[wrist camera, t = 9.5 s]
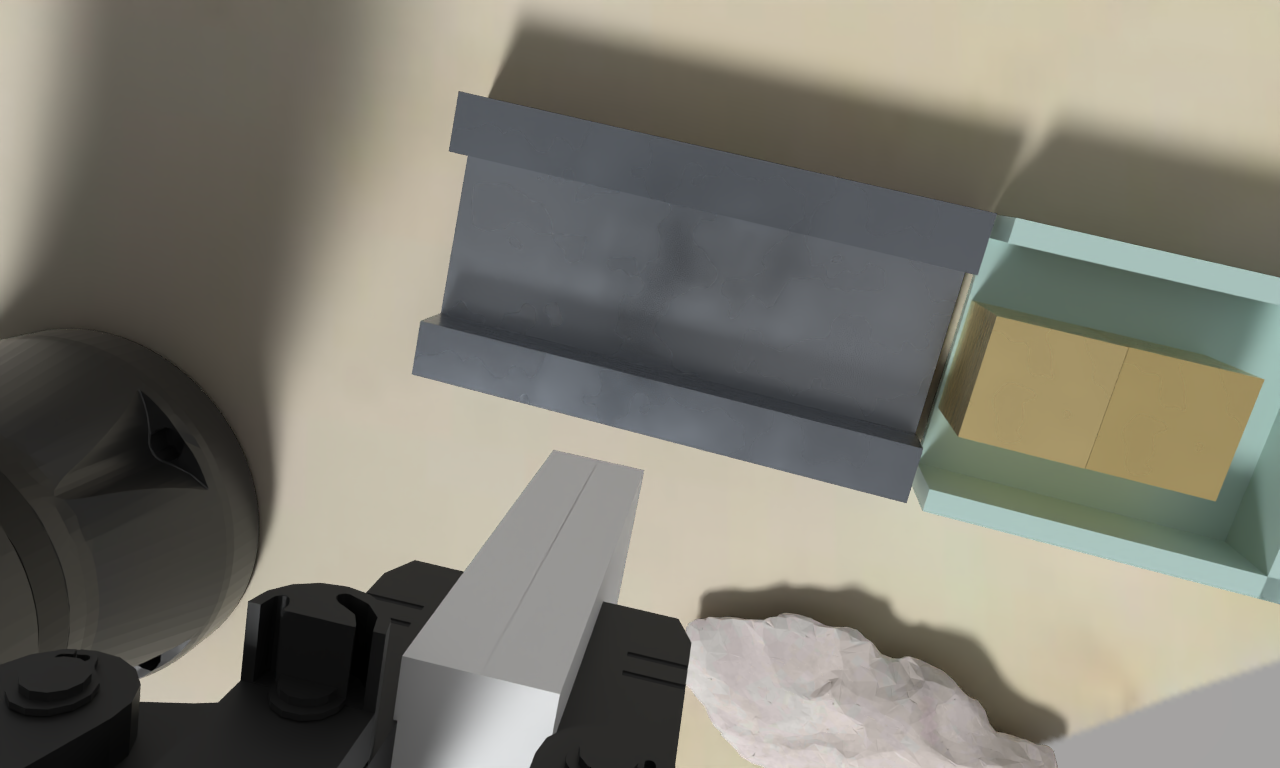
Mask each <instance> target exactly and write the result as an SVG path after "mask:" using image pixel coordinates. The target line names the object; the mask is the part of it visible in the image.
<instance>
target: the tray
mask: <svg viewBox="0 0 1280 768" xmlns="http://www.w3.org/2000/svg"><path fill="white" fill-rule="evenodd" d="M971 300H973V301H978V302H982V303H986V304H990V305H994V306H999V307H1003V308H1007V309H1011V310H1015V311H1020V312H1024V313H1028V314H1032V315H1037V316H1041V317H1045V318H1049V319H1053V320H1058V321H1062V322H1066V323H1070V324H1074V325H1079V326H1083V327H1089V328H1093V329H1097V330H1101V331H1105V332H1110V333H1114V334H1118V335H1122V336H1127V337H1131V338H1135V339H1139V340H1143V341H1148V342H1152V343H1156V344H1160V345H1164V346H1169V347H1173V348H1177V349H1181V350H1185V351H1190V352H1194V353H1198V354H1202V355H1206V356H1209V357H1211V358H1214V359H1216V360H1218V361H1221V362H1223V363H1226V364H1228V365H1231V366H1233V367H1236V368H1238V369H1240V370H1243V371H1245V372H1248V373H1250V374H1253V375H1255V376H1258V377H1260V378H1262V379H1265V380H1264V383H1263V385H1262V388H1261V390H1260V393H1259V395H1258V398H1257V400H1256V403H1255V405H1254V408H1253V410H1252V412H1251V415H1250V417H1249V420H1248V422H1247V425H1246V427H1245V430H1244V432H1243V435H1242V437H1241V440H1240V442H1239V445H1238V447H1237V450H1236V452H1235V455H1234V457H1233V460H1232V462H1231V465H1230V467H1229V470H1228V472H1227V475H1226V477H1225V480H1224V482H1223V485H1222V487H1221V490H1220V492H1219V495H1218V497H1217V500H1216V501H1212V500H1208V499H1204V498H1200V497H1196V496H1192V495H1188V494H1184V493H1180V492H1176V491H1172V490H1168V489H1164V488H1160V487H1156V486H1152V485H1148V484H1144V483H1140V482H1137V481H1133V480H1129V479H1125V478H1121V477H1117V476H1113V475H1109V474H1105V473H1101V472H1097V471H1093V470H1089V469H1083V468H1079V467H1076V466H1072V465H1068V464H1064V463H1060V462H1056V461H1052V460H1048V459H1044V458H1040V457H1036V456H1032V455H1028V454H1024V453H1020V452H1016V451H1012V450H1008V449H1004V448H1000V447H996V446H992V445H988V444H984V443H980V442H977V441H973V440H969V439H965V438H961V437H958V436H957V435H956V433H955V432H954V430H953V429H952V427H951V426H950V424H949V423H948V421H947V420H946V418H945V417H944V416H943V414H942V413H941V411H940V410H939V408H938V405H939V402H940V399H941V396H942V393H943V390H944V386H945V383H946V380H947V377H948V374H949V370H950V367H951V364H952V361H953V358H954V355H955V351H956V348H957V345H958V342H959V339H960V335H961V332H962V329H963V326H964V323H965V319H966V316H967V313H968V310H969V307H970V304H971ZM921 445H922V447H923V452H922V455H921V458H920V461H919V464H918V468H917V471H916V474H915V477H914V480H913V484H912V487H913V489H914V492H915V494H916V496H917V499H918V501H919V504H920V506H921V508H922V511H925V512H929V513H932V514H936V515H940V516H944V517H948V518H952V519H955V520H959V521H963V522H967V523H971V524H975V525H978V526H982V527H986V528H990V529H994V530H998V531H1001V532H1005V533H1009V534H1013V535H1017V536H1021V537H1024V538H1028V539H1032V540H1036V541H1040V542H1044V543H1047V544H1051V545H1055V546H1059V547H1063V548H1067V549H1070V550H1074V551H1078V552H1082V553H1086V554H1090V555H1093V556H1097V557H1101V558H1105V559H1109V560H1113V561H1116V562H1120V563H1124V564H1128V565H1132V566H1136V567H1139V568H1143V569H1147V570H1151V571H1155V572H1159V573H1162V574H1166V575H1170V576H1174V577H1178V578H1182V579H1185V580H1189V581H1193V582H1197V583H1201V584H1204V585H1208V586H1212V587H1216V588H1220V589H1224V590H1227V591H1231V592H1235V593H1239V594H1243V595H1247V596H1250V597H1254V598H1258V599H1262V600H1266V601H1270V602H1273V603H1277V604H1280V278H1279V277H1275V276H1270V275H1266V274H1262V273H1257V272H1253V271H1248V270H1244V269H1240V268H1235V267H1231V266H1226V265H1222V264H1218V263H1213V262H1209V261H1204V260H1200V259H1196V258H1191V257H1187V256H1182V255H1178V254H1174V253H1169V252H1165V251H1160V250H1156V249H1152V248H1147V247H1143V246H1138V245H1134V244H1130V243H1125V242H1121V241H1116V240H1112V239H1108V238H1103V237H1099V236H1094V235H1090V234H1086V233H1081V232H1077V231H1072V230H1068V229H1064V228H1059V227H1055V226H1050V225H1046V224H1042V223H1037V222H1033V221H1028V220H1024V219H1020V218H1015V217H1008V216H1001V215H996V219H995V222H994V225H993V228H992V231H991V235H990V238H989V241H988V244H987V247H986V251H985V254H984V257H983V260H982V263H981V267H980V270H979V273H978V275H974V274H973V277H972V281H971V284H970V287H969V290H968V294H967V297H966V300H965V303H964V306H963V310H962V313H961V316H960V319H959V322H958V326H957V329H956V332H955V335H954V338H953V342H952V345H951V348H950V351H949V354H948V358H947V361H946V364H945V367H944V370H943V374H942V377H941V380H940V383H939V386H938V390H937V393H936V396H935V399H934V402H933V406H932V409H931V412H930V415H929V419H928V422H927V425H926V428H925V431H924V435H923V438H922V441H921Z"/></svg>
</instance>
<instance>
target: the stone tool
mask: <svg viewBox="0 0 1280 768" xmlns="http://www.w3.org/2000/svg"><path fill="white" fill-rule="evenodd" d="M686 633H687V635H688V637H689V639H690V641H691V642H692V643H691V650H690V658H689V665H688V673H687V680H686V685H687V686H688V687H689V688H690V689H691V690H692V692H693V694H694V695H695V696H696V697H697V699H698V700H699V701H700V702H701V703H702V704H703V705H704V707H705V709H706V711H707V713H708V716H709V718H710V720H711V721H712V723H713V725H714V726H715V727H716V728H717V729H718V730H719V731H720V732H721V733H722V734H721V735H722V736H723V737H724V738H725V739H726V740H727V741H728V742H729V743H730V744H731V745H732V746H733V748H734V749H735V750H736V751H737V752H738V753H739V755H740V756H741V757H742V758H744V759H746V760H748V761H750V762H751V763H753V764H756V765H759V766H762V767H764V768H1058V766H1057V762H1056V758H1055V755H1054V751H1053V750H1052V749H1051V748H1050V747H1049V746H1046V745H1036V744H1034V743H1032V742H1030V741H1028V740H1026V739H1021V738H1019V737H1016V736H1013V735H1010V734H1006V733H1001V732H996V731H995V730H994V729H993V728H992V726H991V725H990V724H989V721H988V718H987V715H986V712H985V710H984V708H983V707H982V706H981V704H980V703H979V701H978V700H975V699H973V698H970V697H969V696H967V695H966V694H965V693H964V692H963V691H962V690H961V689H960V688H959V686H958V685H957V684H956V682H955V681H954V680H953V679H952V678H951V677H949V676H948V675H947V674H946V673H945V672H944V671H943V670H940V669H938V668H936V667H934V666H932V665H930V664H928V663H926V662H924V661H922V660H920V659H916V658H913V657H910V656H904V657H903V658H900V659H896V658H891V657H888V656H885V655H883V654H881V653H880V652H879V650H878V649H877V648H876V646H875V645H874V644H873V643H872V642H871V641H870V640H868V639H866V638H865V637H864V636H863V635H862V634H861V633H860V632H859V631H858V630H856V629H853V628H850V627H831V626H826V625H824V624H822V623H820V622H818V621H815V620H813V619H812V618H809V617H806V616H802V615H799V614H792V613H783V614H779V615H778V616H777V617H769V618H767V619H764V620H754V619H750V620H748V619H741V618H735V617H720V618H717V617H708V618H706V619H696V620H694V621H692V622H690V623H689V624H688V626H687V627H686ZM836 656H837V657H836ZM772 658H773V659H772ZM777 660H778V661H777ZM782 662H783V663H782ZM867 668H868V669H867ZM869 669H870V670H869ZM822 675H823V676H822ZM759 686H760V687H759ZM833 702H834V704H833ZM857 704H858V705H857ZM859 705H860V706H859ZM849 725H850V726H849ZM886 725H887V726H886ZM827 729H828V730H827ZM856 729H857V730H856ZM826 732H827V733H826ZM838 733H839V734H838Z"/></svg>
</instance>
